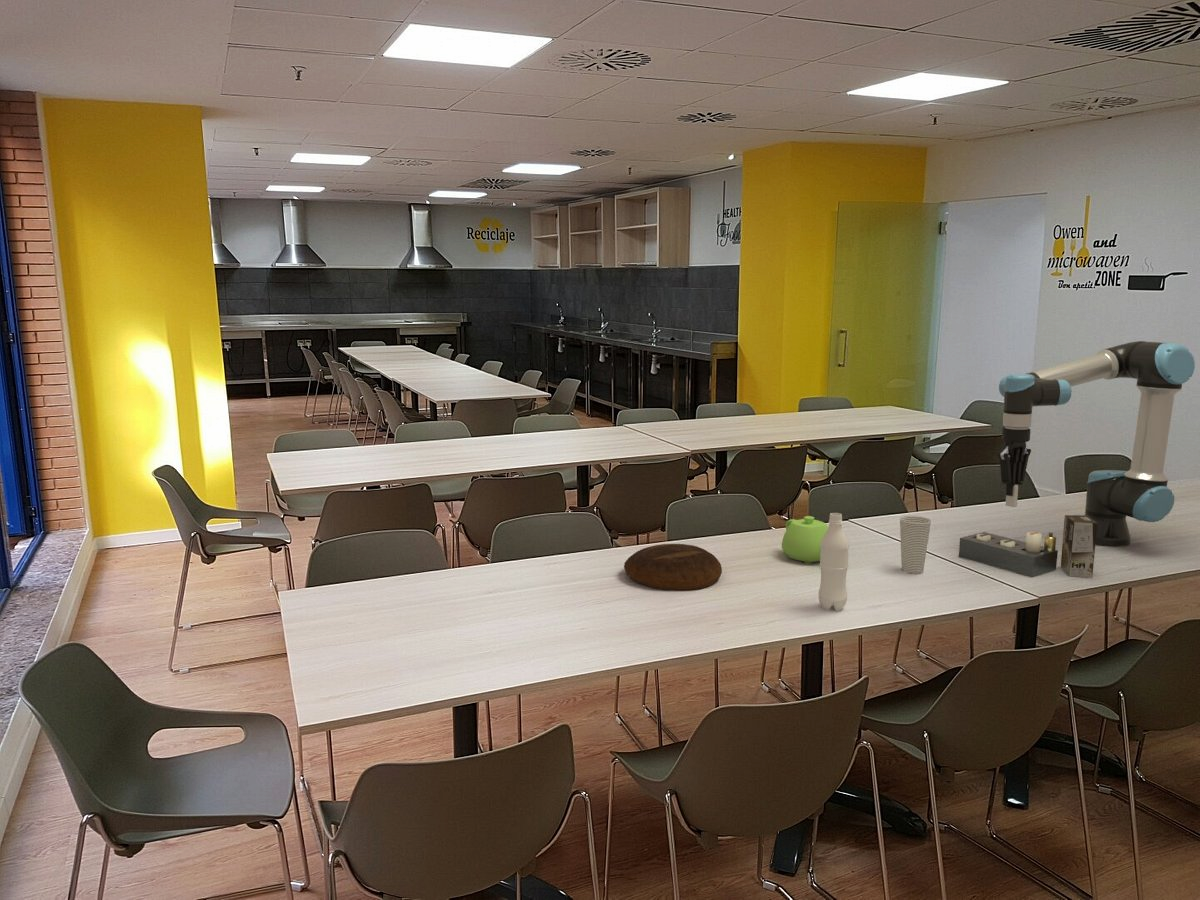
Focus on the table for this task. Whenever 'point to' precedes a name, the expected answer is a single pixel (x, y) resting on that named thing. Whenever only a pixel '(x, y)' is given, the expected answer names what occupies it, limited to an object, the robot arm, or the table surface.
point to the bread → (673, 567)
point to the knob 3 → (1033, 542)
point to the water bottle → (833, 565)
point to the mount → (1007, 555)
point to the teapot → (804, 539)
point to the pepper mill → (1050, 542)
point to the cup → (914, 543)
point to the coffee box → (1078, 545)
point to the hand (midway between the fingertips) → (1011, 505)
